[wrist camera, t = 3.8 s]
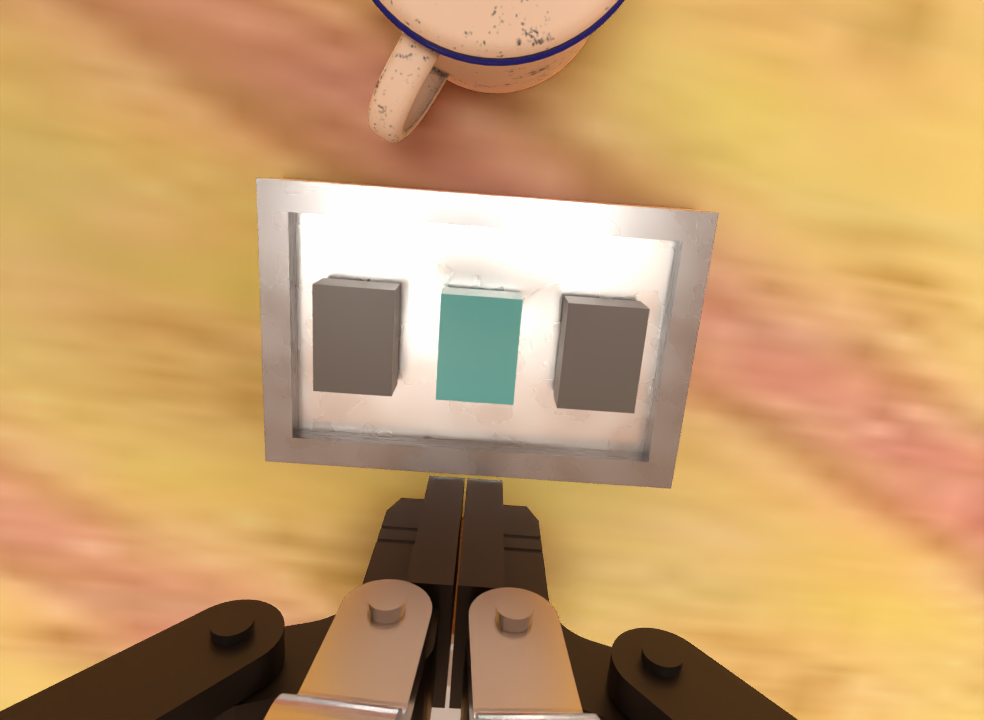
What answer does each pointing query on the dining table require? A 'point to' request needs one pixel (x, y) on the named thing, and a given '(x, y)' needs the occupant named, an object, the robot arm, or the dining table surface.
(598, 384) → the dark taupe block
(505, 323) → the teal rectangular box
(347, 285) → the grey rectangular prism
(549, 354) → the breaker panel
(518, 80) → the teacup with lid
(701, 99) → the dining table surface
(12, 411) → the dining table surface
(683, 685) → the robot arm
